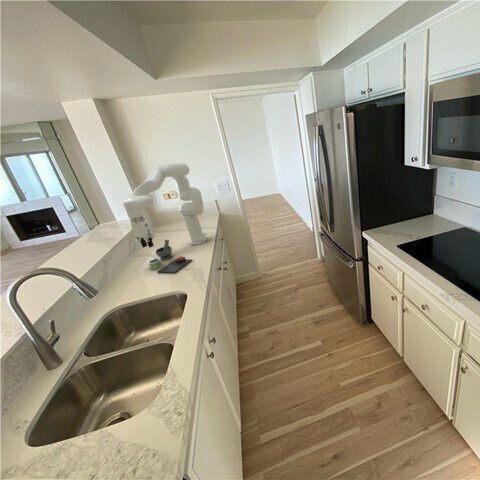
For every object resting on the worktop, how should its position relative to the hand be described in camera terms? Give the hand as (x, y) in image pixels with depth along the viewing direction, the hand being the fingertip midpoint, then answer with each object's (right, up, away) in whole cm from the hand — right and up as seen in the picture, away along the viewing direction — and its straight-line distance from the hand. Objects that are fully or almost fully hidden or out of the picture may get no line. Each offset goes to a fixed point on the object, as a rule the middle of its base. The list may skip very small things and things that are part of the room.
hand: (148, 246), depth 167 cm
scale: (+16, -13, +4) cm, 21 cm away
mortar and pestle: (+1, -8, +19) cm, 21 cm away
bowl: (+2, -14, +6) cm, 15 cm away
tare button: (+16, -9, +7) cm, 20 cm away
